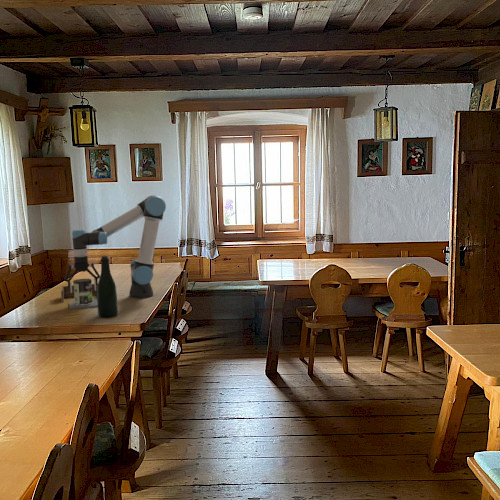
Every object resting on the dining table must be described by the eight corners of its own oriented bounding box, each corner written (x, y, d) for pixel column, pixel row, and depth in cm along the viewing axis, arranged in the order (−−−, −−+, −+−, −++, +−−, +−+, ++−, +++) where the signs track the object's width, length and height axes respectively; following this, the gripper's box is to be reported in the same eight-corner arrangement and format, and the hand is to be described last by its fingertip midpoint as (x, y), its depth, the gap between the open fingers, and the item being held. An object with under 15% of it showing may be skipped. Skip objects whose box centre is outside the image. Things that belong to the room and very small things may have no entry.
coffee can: (96, 301, 306) (94, 278, 304) (87, 305, 296) (85, 282, 294) (80, 301, 308) (79, 278, 306) (71, 305, 298) (69, 281, 296)
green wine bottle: (101, 313, 282) (98, 254, 278) (120, 313, 282) (117, 254, 278) (95, 318, 272) (91, 257, 268) (114, 318, 272) (111, 257, 267)
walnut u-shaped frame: (104, 298, 318) (103, 287, 317) (61, 302, 310) (61, 291, 309) (103, 293, 332) (102, 283, 331) (62, 297, 324) (61, 286, 323)
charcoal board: (98, 306, 297) (98, 305, 297) (69, 309, 292) (69, 307, 292) (97, 301, 312) (97, 299, 312) (69, 303, 307) (69, 301, 307)
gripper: (102, 253, 305) (105, 287, 308) (58, 256, 298) (61, 292, 301) (103, 255, 298) (105, 290, 301) (57, 258, 291) (61, 294, 294)
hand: (83, 291), depth 301 cm, fingers open, 13 cm apart
